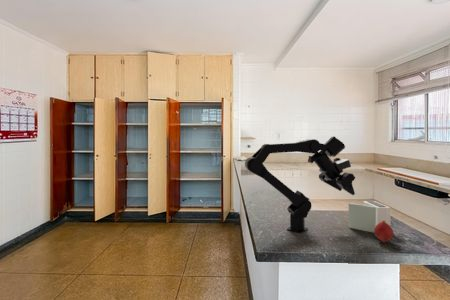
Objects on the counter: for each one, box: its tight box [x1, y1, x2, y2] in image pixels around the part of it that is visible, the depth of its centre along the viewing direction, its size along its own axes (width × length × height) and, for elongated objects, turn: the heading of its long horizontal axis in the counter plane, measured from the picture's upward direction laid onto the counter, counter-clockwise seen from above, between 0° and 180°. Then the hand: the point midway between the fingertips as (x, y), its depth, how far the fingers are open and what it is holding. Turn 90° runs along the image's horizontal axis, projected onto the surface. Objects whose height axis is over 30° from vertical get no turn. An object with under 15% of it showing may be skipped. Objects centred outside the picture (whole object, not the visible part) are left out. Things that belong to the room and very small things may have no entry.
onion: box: [373, 220, 394, 243], centre depth 95 cm, size 6×6×8 cm
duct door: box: [348, 202, 376, 233], centre depth 107 cm, size 1×10×10 cm, turn 45°
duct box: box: [362, 200, 391, 227], centre depth 110 cm, size 5×11×10 cm, turn 0°
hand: (347, 192), depth 112 cm, fingers open, 9 cm apart
